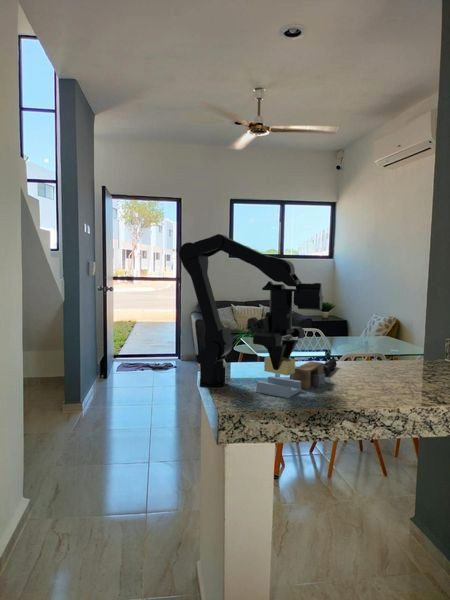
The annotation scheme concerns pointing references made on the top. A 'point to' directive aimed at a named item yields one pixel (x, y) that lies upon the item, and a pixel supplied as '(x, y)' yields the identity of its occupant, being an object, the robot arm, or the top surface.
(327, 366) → the electric trimmer
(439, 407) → the top surface
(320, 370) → the beam
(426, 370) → the top surface
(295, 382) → the cradle
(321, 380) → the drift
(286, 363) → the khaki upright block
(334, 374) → the top surface
